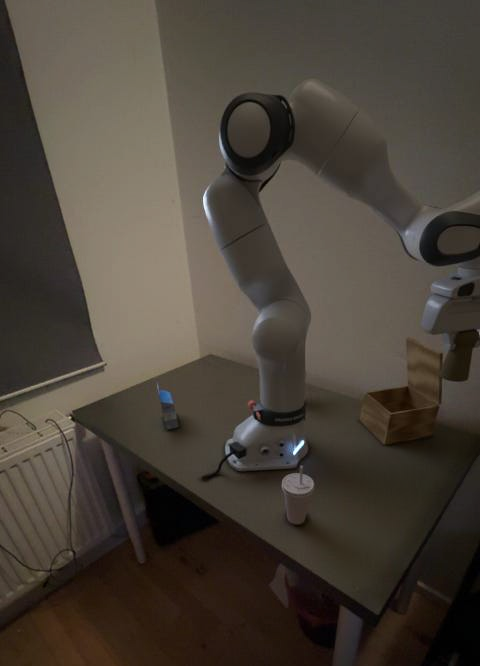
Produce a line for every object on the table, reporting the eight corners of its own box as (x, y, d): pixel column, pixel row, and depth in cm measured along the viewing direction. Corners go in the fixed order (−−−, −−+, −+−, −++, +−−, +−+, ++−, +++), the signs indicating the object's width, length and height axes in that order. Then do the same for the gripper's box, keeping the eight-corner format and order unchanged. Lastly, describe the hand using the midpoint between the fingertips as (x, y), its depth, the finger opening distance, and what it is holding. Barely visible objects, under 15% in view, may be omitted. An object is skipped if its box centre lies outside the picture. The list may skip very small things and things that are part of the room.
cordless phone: (179, 427, 107) (172, 391, 100) (165, 430, 106) (158, 394, 99) (175, 414, 114) (169, 380, 107) (162, 416, 113) (156, 382, 106)
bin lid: (439, 353, 83) (442, 352, 83) (405, 337, 94) (408, 336, 94) (438, 405, 91) (441, 404, 91) (407, 384, 102) (410, 383, 102)
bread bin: (384, 444, 94) (390, 414, 89) (359, 420, 105) (364, 392, 100) (431, 436, 96) (439, 406, 91) (402, 413, 107) (408, 385, 102)
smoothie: (304, 534, 70) (308, 480, 62) (275, 522, 73) (276, 470, 65) (316, 513, 74) (321, 461, 67) (288, 503, 77) (290, 452, 70)
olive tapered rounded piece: (437, 369, 83) (449, 323, 77) (466, 372, 81) (481, 325, 75) (439, 380, 79) (452, 332, 73) (470, 383, 77) (486, 333, 71)
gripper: (511, 274, 73) (489, 338, 81) (424, 284, 70) (410, 350, 78) (538, 279, 68) (513, 347, 75) (446, 289, 65) (429, 359, 72)
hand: (460, 348), depth 77 cm, fingers closed on olive tapered rounded piece, 5 cm apart
